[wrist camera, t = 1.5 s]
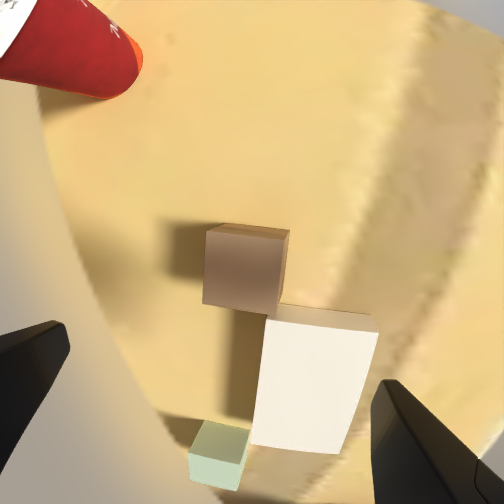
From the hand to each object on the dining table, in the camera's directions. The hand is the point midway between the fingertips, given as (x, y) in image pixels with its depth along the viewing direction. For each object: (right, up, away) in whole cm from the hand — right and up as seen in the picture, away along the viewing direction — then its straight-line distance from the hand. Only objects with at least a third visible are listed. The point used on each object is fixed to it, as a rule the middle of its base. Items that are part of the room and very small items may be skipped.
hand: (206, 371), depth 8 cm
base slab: (+6, -6, +15) cm, 17 cm away
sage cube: (-1, -14, +18) cm, 23 cm away
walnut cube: (+1, +3, +14) cm, 14 cm away
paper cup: (-10, +18, +13) cm, 24 cm away
